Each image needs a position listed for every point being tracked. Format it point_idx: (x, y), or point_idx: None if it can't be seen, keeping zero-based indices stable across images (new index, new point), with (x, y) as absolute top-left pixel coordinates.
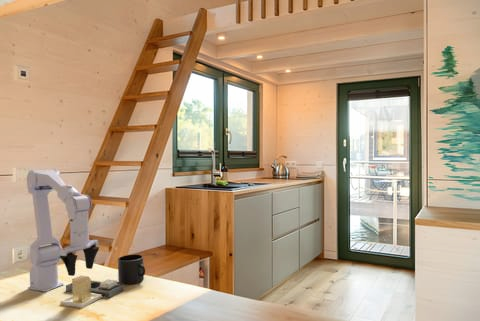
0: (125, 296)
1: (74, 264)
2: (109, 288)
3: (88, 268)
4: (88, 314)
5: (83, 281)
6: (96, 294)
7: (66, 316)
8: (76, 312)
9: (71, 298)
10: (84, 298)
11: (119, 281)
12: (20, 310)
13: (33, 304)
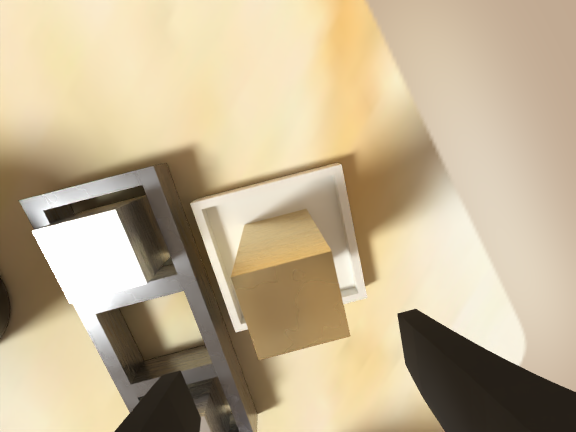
0: (85, 98)
1: (520, 396)
2: (126, 204)
3: (191, 398)
4: (362, 52)
5: (309, 254)
6: (208, 230)
7: (429, 134)
8: (377, 136)
9: None
10: (290, 217)
11: (2, 316)
12: None
13: None
